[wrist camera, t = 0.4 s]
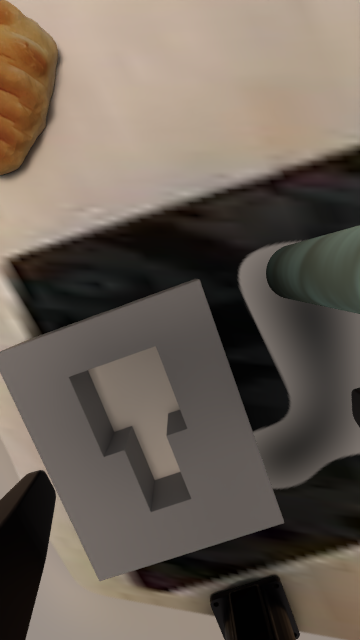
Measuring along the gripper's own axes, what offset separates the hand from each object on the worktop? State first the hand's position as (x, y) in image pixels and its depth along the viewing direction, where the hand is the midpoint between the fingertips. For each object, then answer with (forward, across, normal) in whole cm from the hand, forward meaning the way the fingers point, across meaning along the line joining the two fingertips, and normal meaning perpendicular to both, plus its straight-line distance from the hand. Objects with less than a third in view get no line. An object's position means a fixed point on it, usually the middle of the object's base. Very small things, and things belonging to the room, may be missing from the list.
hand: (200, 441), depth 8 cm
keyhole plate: (+13, +4, +8) cm, 16 cm away
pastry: (+18, +7, -16) cm, 25 cm away
